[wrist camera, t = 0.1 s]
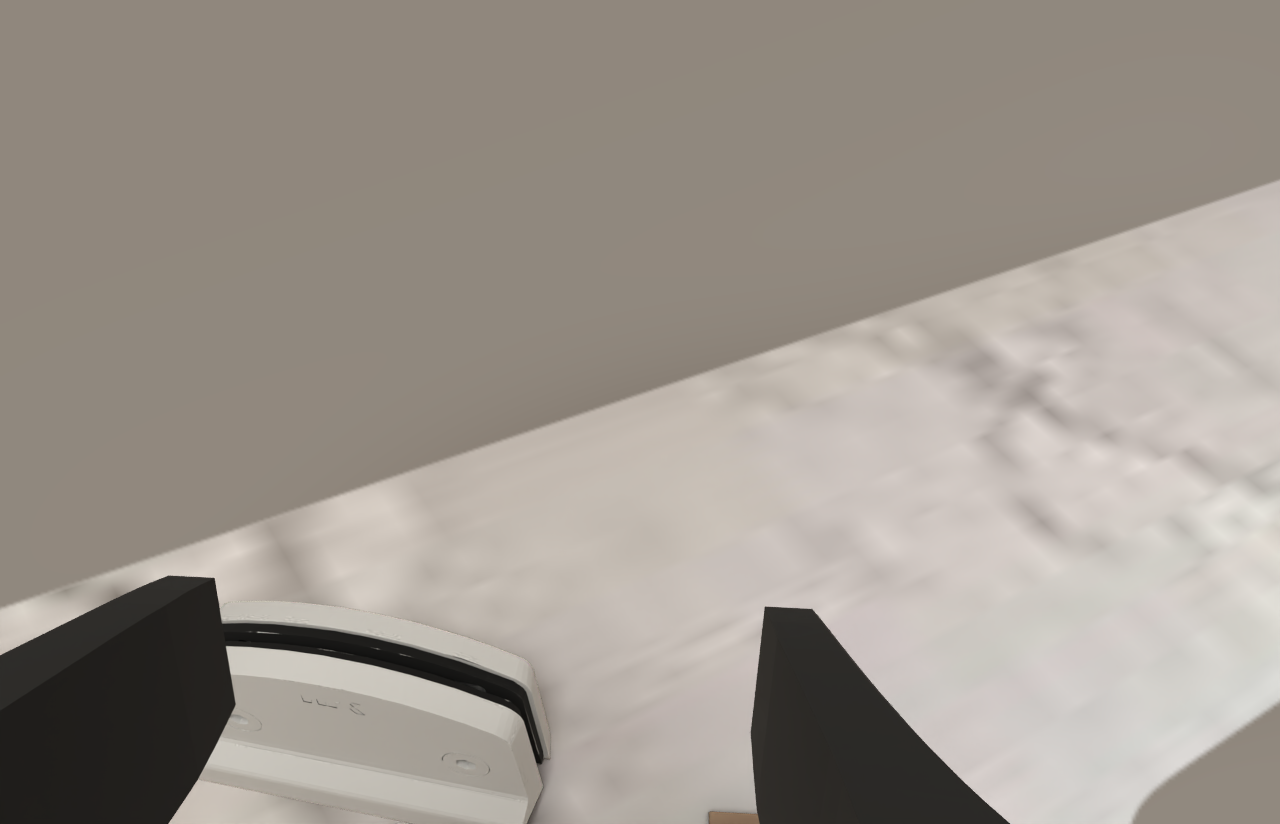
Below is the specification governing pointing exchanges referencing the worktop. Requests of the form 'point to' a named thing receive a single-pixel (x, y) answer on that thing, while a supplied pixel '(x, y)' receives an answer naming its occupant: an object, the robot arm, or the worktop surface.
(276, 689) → the grey rounded block
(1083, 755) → the worktop surface
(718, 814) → the board
